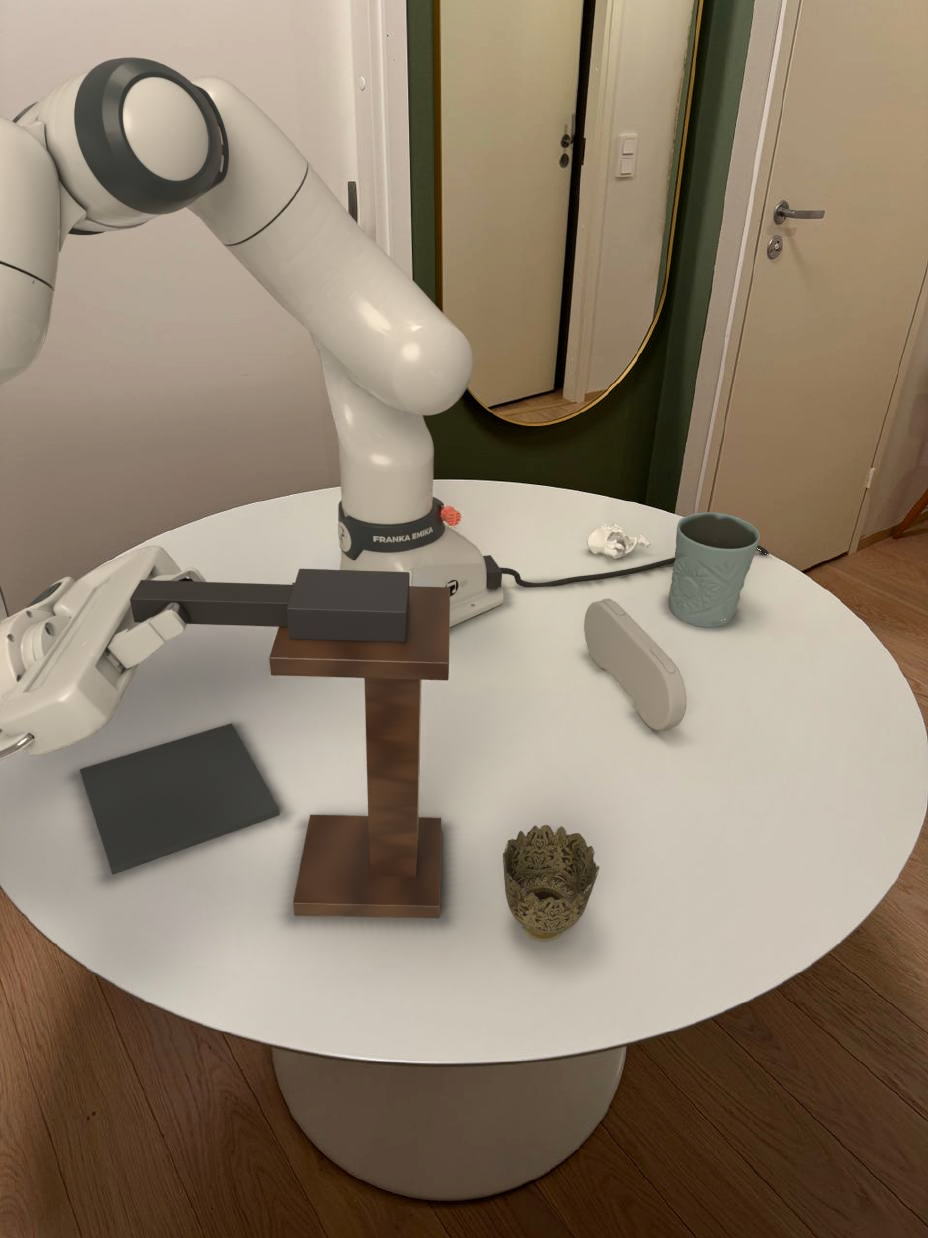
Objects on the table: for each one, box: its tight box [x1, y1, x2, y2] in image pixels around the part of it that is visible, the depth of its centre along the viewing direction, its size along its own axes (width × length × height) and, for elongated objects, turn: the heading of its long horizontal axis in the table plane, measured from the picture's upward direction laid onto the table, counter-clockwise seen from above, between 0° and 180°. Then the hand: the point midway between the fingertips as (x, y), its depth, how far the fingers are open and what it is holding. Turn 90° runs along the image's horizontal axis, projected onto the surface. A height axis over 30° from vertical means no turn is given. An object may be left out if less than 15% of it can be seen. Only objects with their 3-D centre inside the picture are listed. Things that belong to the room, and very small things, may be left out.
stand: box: [268, 582, 451, 919], centre depth 69 cm, size 12×10×26 cm
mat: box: [79, 722, 280, 875], centre depth 83 cm, size 15×14×1 cm
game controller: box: [583, 598, 687, 731], centre depth 98 cm, size 20×2×8 cm, turn 20°
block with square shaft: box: [130, 568, 410, 642], centre depth 61 cm, size 19×6×2 cm, turn 90°
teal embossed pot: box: [667, 511, 761, 628], centre depth 112 cm, size 10×10×12 cm
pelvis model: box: [586, 522, 651, 560], centre depth 127 cm, size 8×4×7 cm
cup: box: [502, 824, 600, 941], centre depth 70 cm, size 8×7×8 cm
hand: (190, 596), depth 61 cm, fingers open, 3 cm apart
